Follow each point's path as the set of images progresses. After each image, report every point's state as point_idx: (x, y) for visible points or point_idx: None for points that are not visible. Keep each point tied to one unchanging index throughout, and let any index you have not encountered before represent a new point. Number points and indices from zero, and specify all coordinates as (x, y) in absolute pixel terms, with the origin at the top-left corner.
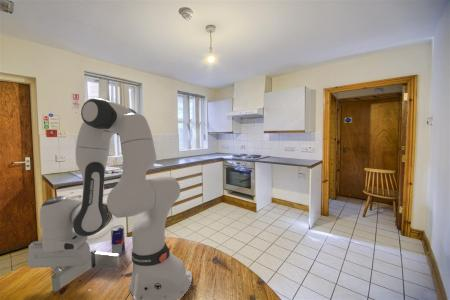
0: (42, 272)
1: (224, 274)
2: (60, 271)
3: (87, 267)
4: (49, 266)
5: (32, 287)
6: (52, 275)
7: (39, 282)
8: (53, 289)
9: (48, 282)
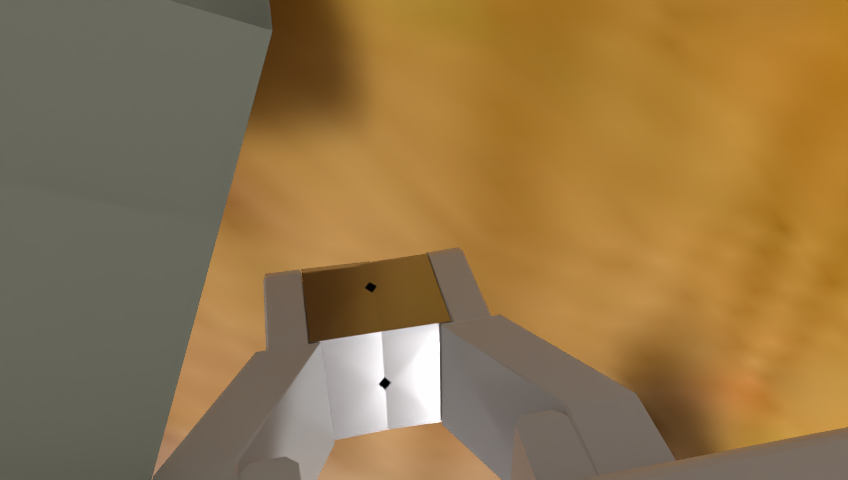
0: (830, 346)
1: None
2: (114, 344)
3: None
4: (737, 474)
5: (827, 26)
6: (254, 79)
7: (764, 155)
8: None
9: (596, 166)
